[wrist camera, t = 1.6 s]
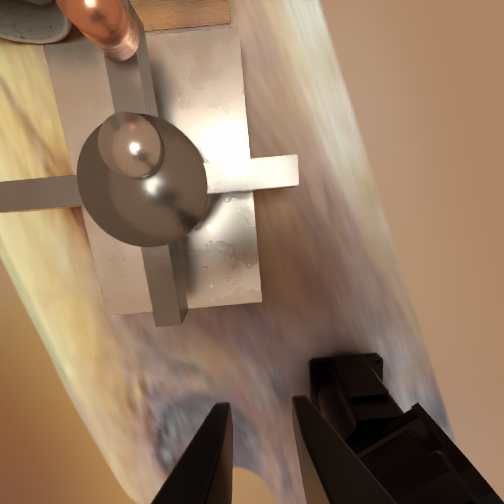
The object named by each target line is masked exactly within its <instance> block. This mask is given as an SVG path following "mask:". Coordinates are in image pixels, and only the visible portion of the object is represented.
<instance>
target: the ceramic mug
mask: <svg viewBox="0 0 504 504" xmlns="http://www.w3.org/2000/svg"><path fill="white" fill-rule="evenodd" d="M71 26H72V22H71V21H70V20H69V19H68V18H67V17H66V16H65V14H64V13H63V12H62V11H61V10H60V8H59V6H58V4H57V2H56V0H0V37H1V38H5V39H8V40H13V41H18V42H25V43H37V44H45V43H52V42H57V41H60V40H62V39H64V38H65V37H66V36H67V35H68V34H69V32H70V30H71Z"/></svg>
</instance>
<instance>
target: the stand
mask: <svg viewBox="0 0 504 504" xmlns="http://www.w3.org/2000/svg"><path fill="white" fill-rule="evenodd" d="M129 1H130V3H131V4H132V6H133V8H134V9H135V11H136V13H137V14H138V16H139V18H140V20H141V21H142V23H143V25H144V30H145V31H154V30H164V29H175V28H185V27H196V26H206V25H216V24H227V23H230V14H229V4H228V0H129ZM145 37H146V43H147V49H148V56H149V62H150V69H151V75H152V81H153V88H154V94H155V100H156V107H157V113H158V117H159V118H161V119H164V120H166V121H168V122H169V123H171V124H173V125H174V126H176V127H177V128H178V129H180V130H181V131H182V132H183V133H184V134H185V135H186V136H187V137H188V138H189V139H190V140H191V141H192V142H193V143H194V145H195V146H196V147H197V148H198V149H199V150H200V152H201V153H202V155H203V156H204V158H205V160H206V162H207V163H210V162H221V161H231V160H242V159H250V153H249V142H248V130H247V119H246V107H245V95H244V84H243V72H242V60H241V49H240V37H239V27H230V28H219V29H209V30H198V31H188V32H177V33H167V34H156V35H146V36H145ZM43 47H44V51H45V55H46V59H47V64H48V68H49V72H50V76H51V81H52V85H53V89H54V93H55V97H56V102H57V106H58V110H59V114H60V119H61V123H62V127H63V131H64V136H65V140H66V144H67V148H68V153H69V157H70V161H71V165H72V169H73V174H74V175H77V163H78V159H79V154H80V152H81V149H82V147H83V145H84V143H85V141H86V139H87V138H88V137H89V135H90V134H91V133H92V132H93V131H94V130H95V129H96V128H97V127H98V126H99V125H101V124H102V123H103V122H104V121H105V120H106V119H107V118H108V117H109V116H111V115H113V114H115V111H114V106H113V101H112V95H111V90H110V85H109V80H108V75H107V69H106V64H105V59H104V54H103V53H102V52H101V51H100V50H99V49H98V48H97V47H96V46H95V45H94V44H93V43H92V42H91V41H83V42H73V43H62V44H52V45H43ZM81 208H82V212H83V216H84V220H85V225H86V229H87V233H88V237H89V241H90V246H91V250H92V254H93V258H94V263H95V267H96V271H97V275H98V280H99V284H100V288H101V292H102V296H103V301H104V305H105V309H106V313H107V316H109V315H121V314H132V313H143V312H153V310H152V304H151V299H150V294H149V289H148V284H147V278H146V273H145V268H144V263H143V257H142V252H141V247H137V246H133V245H129V244H126V243H123V242H121V241H119V240H117V239H115V238H113V237H112V236H110V235H109V234H107V233H106V232H105V231H104V230H102V229H101V228H100V227H99V226H98V225H97V224H96V223H95V222H94V220H93V219H92V218H91V216H90V215H89V213H88V212H87V210H86V208H85V206H83V207H81ZM178 247H179V253H180V259H181V266H182V272H183V279H184V285H185V291H186V298H187V304H188V308H199V307H211V306H222V305H233V304H244V303H255V302H262V293H261V281H260V270H259V258H258V246H257V235H256V223H255V212H254V200H253V191H247V192H236V193H225V194H214V195H212V200H211V204H210V207H209V210H208V212H207V214H206V216H205V218H204V219H203V221H202V222H201V223H200V225H199V226H198V227H197V228H196V229H194V230H193V231H192V232H191V233H189V234H188V235H186V236H184V237H182V238H180V239H178Z"/></svg>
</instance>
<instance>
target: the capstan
mask: <svg viewBox="0 0 504 504" xmlns="http://www.w3.org/2000/svg"><path fill="white" fill-rule="evenodd" d="M56 2H57V4H58V6H59V8H60V10H61V11H62V12H63V13H64V14H65V16H66V17H67V18H68V19H69V20H70V21H71V22H72V23H73V24H74V25H75V26H76V27H77V28H78V29H79V30H80V31H81V32H82V33H83V34H84V35H85V36H86V37H87V38H88V39H89V40H90V41H91V42H92V43H93V44H94V45H95V46H96V47H97V48H98V49H99V50H100V51H101V52H102V53H103V54H104V59H105V64H106V69H107V75H108V80H109V85H110V90H111V95H112V101H113V106H114V111H115V114H113V115H111V116H109V117H108V118H107V119H106V120H105V121H104V122H103V123H102V124H101V125H99V126H98V127H97V128H96V129H95V130H94V131H93V132H92V133H91V134H90V135H89V137H88V138H87V139H86V141H85V143H84V145H83V147H82V149H81V152H80V154H79V159H78V163H77V175H69V176H59V177H48V178H37V179H26V180H15V181H5V182H0V213H10V212H29V211H40V210H51V209H62V208H73V207H83V206H85V208H86V210H87V212H88V213H89V215H90V216H91V218H92V219H93V220H94V222H95V223H96V224H97V225H98V226H99V227H100V228H101V229H102V230H104V231H105V232H106V233H107V234H109V235H110V236H112V237H113V238H115V239H117V240H119V241H121V242H123V243H126V244H129V245H133V246H137V247H141V252H142V257H143V263H144V268H145V273H146V278H147V284H148V289H149V294H150V299H151V304H152V310H153V315H154V320H155V325H156V327H159V326H170V325H181V324H182V322H183V321H184V319H185V317H186V315H187V313H188V312H189V310H188V304H187V298H186V291H185V285H184V279H183V272H182V266H181V259H180V253H179V247H178V239H180V238H182V237H184V236H186V235H188V234H189V233H191V232H192V231H193V230H194V229H196V228H197V227H198V226H199V225H200V223H201V222H202V221H203V219H204V218H205V216H206V214H207V212H208V210H209V207H210V204H211V200H212V195H214V194H225V193H236V192H247V191H258V190H269V189H280V188H291V187H295V186H298V185H299V175H298V154H296V155H286V156H275V157H264V158H253V159H242V160H231V161H221V162H210V163H207V162H206V160H205V158H204V156H203V155H202V153H201V152H200V150H199V149H198V148H197V147H196V146H195V145H194V143H193V142H192V141H191V140H190V139H189V138H188V137H187V136H186V135H185V134H184V133H183V132H182V131H181V130H180V129H178V128H177V127H176V126H174V125H173V124H171V123H169V122H168V121H166V120H164V119H161V118H159V117H158V113H157V107H156V100H155V94H154V88H153V81H152V75H151V69H150V62H149V56H148V49H147V43H146V37H145V30H144V25H143V23H142V21H141V20H140V18H139V16H138V14H137V13H136V11H135V9H134V8H133V6H132V4H131V3H130V1H129V0H56Z"/></svg>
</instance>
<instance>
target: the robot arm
mask: <svg viewBox="0 0 504 504" xmlns="http://www.w3.org/2000/svg"><path fill="white" fill-rule="evenodd" d="M376 359H378V360H377V361H375V360H376ZM315 364H316V366H313V365H315ZM382 379H383V359H382V358H381V357H380V355H378V354H367V355H355V356H343V357H333V358H321V359H313V360H311V361H310V362H309V380H310V400H309V399H308V398H307V397H306V396H305V395H300V396H293V397H292V399H291V401H292V417H293V427H294V433H295V439H296V445H297V451H298V457H299V463H300V469H301V475H302V481H303V486H304V492H305V497H306V501H307V504H504V502H503V501H502V500H501V498H499V496H498V495H497V494H496V493H495V491H494V490H493V489H492V488H491V486H490V485H489V484H488V483H487V481H486V480H485V479H484V478H483V477H482V476H481V474H480V473H479V472H478V471H477V470H476V468H475V467H474V466H473V465H472V464H471V462H470V461H469V460H468V459H467V458H466V457H465V455H464V454H463V453H462V452H461V451H460V450H459V449H458V447H457V446H456V445H455V444H454V443H453V442H452V441H451V439H450V438H449V437H448V436H447V435H446V434H445V433H444V432H443V430H442V429H441V428H440V427H439V426H438V425H437V424H436V422H435V421H434V420H433V419H432V418H431V417H430V416H429V415H428V413H427V412H426V411H425V410H424V409H423V408H422V407H421V406H420V404H419V403H416V404H415V405H413V406H412V409H410V410H408V411H407V412H405V413H404V412H403V411H402V410H401V408H400V407H399V406H398V404H397V403H396V402H395V400H394V399H393V398H392V396H391V395H390V394H389V391H388V389H387V388H386V387H385V385H384V384H383V382H382ZM232 469H233V422H232V415H231V407H230V403H229V402H221V403H216V404H215V405H214V406H213V408H212V409H211V411H210V413H209V414H208V416H207V417H206V419H205V420H204V422H203V423H202V425H201V426H200V428H199V430H198V431H197V433H196V434H195V436H194V437H193V439H192V440H191V442H190V444H189V445H188V447H187V448H186V450H185V451H184V453H183V454H182V456H181V458H180V459H179V461H178V462H177V464H176V465H175V467H174V468H173V470H172V472H171V473H170V475H169V476H168V478H167V479H166V481H165V482H164V484H163V486H162V487H161V489H160V490H159V492H158V493H157V495H156V496H155V498H154V499H153V501H152V503H151V504H231V503H232V502H231V501H232Z"/></svg>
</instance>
